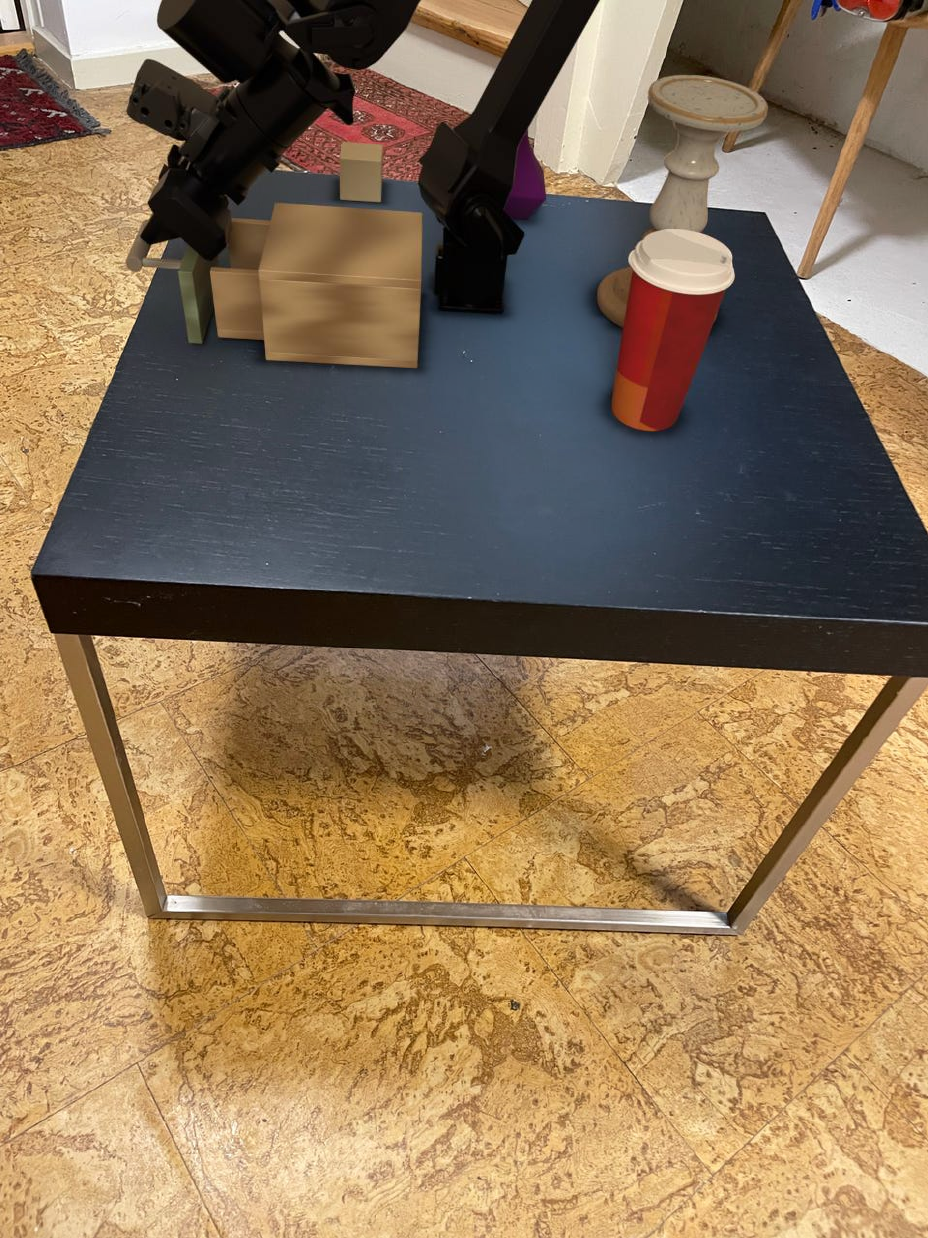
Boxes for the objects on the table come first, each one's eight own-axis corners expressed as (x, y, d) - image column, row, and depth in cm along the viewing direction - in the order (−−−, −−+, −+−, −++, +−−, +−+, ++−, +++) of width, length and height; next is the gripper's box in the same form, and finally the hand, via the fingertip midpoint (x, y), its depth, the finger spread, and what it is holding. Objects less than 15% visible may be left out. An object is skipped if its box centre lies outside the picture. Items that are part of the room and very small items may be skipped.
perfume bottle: (542, 227, 107) (568, 50, 94) (476, 222, 107) (492, 43, 93) (539, 198, 112) (563, 25, 99) (476, 192, 112) (492, 19, 98)
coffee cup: (697, 398, 87) (746, 239, 76) (681, 449, 81) (731, 286, 70) (608, 375, 88) (643, 216, 77) (586, 423, 83) (622, 260, 72)
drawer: (132, 339, 84) (117, 267, 79) (157, 275, 92) (145, 205, 87) (330, 351, 85) (328, 280, 80) (338, 286, 93) (337, 218, 88)
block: (382, 184, 111) (382, 144, 108) (380, 202, 108) (381, 161, 105) (342, 182, 111) (342, 141, 107) (340, 199, 108) (339, 157, 104)
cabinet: (265, 359, 85) (258, 269, 79) (280, 288, 94) (274, 202, 87) (417, 368, 86) (421, 280, 80) (418, 297, 95) (422, 212, 88)
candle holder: (737, 310, 98) (804, 100, 83) (676, 355, 91) (737, 136, 76) (637, 265, 103) (684, 59, 88) (572, 305, 96) (610, 90, 81)
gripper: (202, -8, 77) (90, 123, 85) (158, 72, 65) (31, 218, 72) (303, 103, 84) (191, 217, 91) (281, 196, 71) (153, 319, 79)
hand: (145, 239), depth 83 cm, fingers closed, pressing on drawer
